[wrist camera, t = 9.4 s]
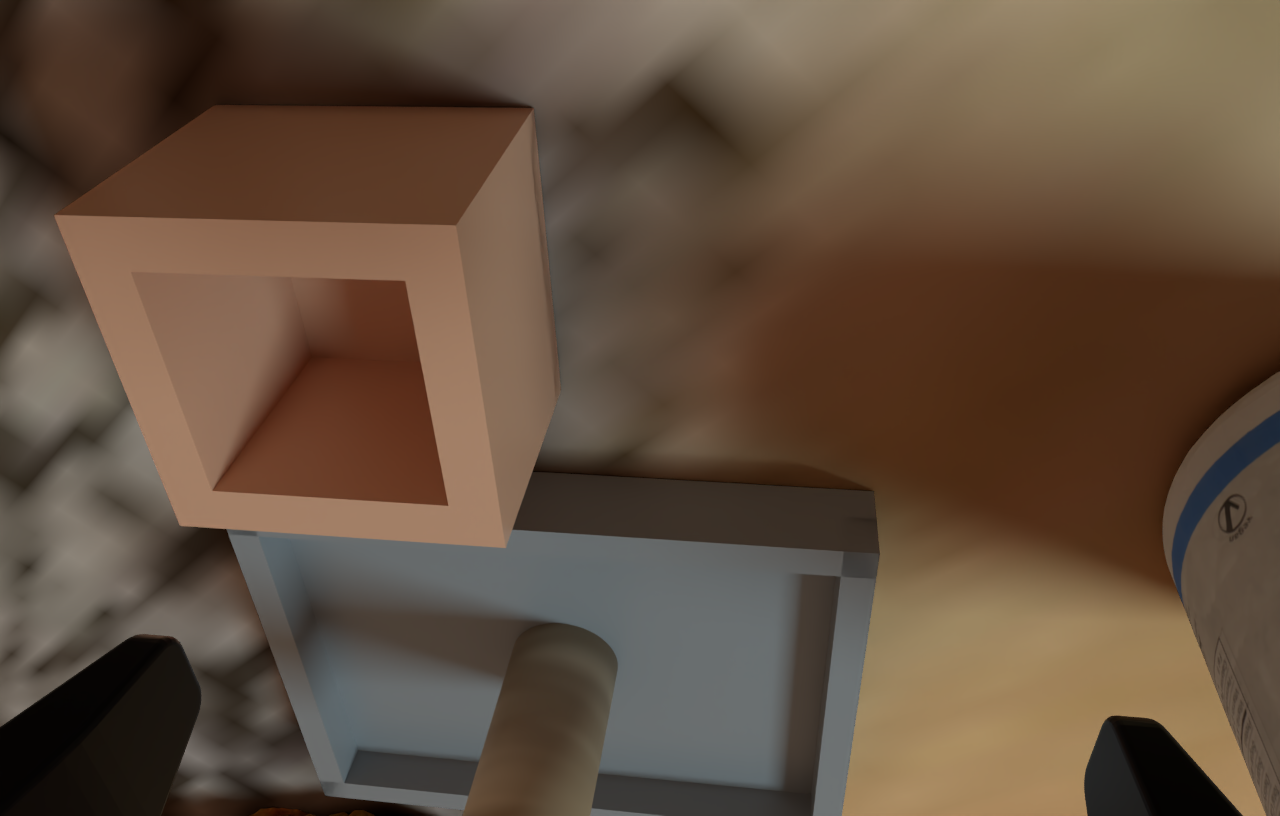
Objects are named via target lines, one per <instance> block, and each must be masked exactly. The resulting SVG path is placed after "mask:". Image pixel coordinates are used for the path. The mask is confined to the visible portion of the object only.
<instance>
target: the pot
mask: <svg viewBox="0 0 1280 816" xmlns="http://www.w3.org/2000/svg"><path fill="white" fill-rule="evenodd" d="M54 217H55V219H56V222H57V224H58V227H59V229H60V232H61V234H62V237H63V239H64V241H65V244H66V246H67V249H68V251H69V254H70V256H71V259H72V261H73V264H74V266H75V269H76V271H77V273H78V276H79V278H80V281H81V283H82V286H83V288H84V291H85V293H86V296H87V298H88V301H89V303H90V305H91V308H92V310H93V313H94V315H95V318H96V320H97V323H98V325H99V328H100V330H101V333H102V335H103V337H104V340H105V342H106V345H107V347H108V350H109V352H110V355H111V357H112V360H113V362H114V365H115V367H116V369H117V372H118V374H119V377H120V379H121V382H122V384H123V387H124V389H125V392H126V394H127V396H128V399H129V401H130V404H131V406H132V409H133V411H134V414H135V416H136V419H137V421H138V424H139V426H140V428H141V431H142V433H143V436H144V438H145V441H146V443H147V446H148V448H149V451H150V453H151V456H152V458H153V460H154V463H155V465H156V468H157V470H158V473H159V475H160V478H161V480H162V483H163V485H164V488H165V490H166V492H167V495H168V497H169V500H170V502H171V505H172V507H173V510H174V512H175V515H176V517H177V519H178V522H179V524H180V526H190V527H205V528H219V529H234V530H249V531H263V532H278V533H293V534H307V535H322V536H337V537H351V538H366V539H381V540H395V541H410V542H425V543H439V544H454V545H469V546H483V547H498V548H506V546H507V543H508V540H509V537H510V534H511V532H512V529H513V526H514V523H515V520H516V517H517V514H518V511H519V509H520V506H521V503H522V500H523V497H524V494H525V491H526V489H527V486H528V483H529V480H530V477H531V474H532V471H533V469H534V466H535V463H536V460H537V457H538V454H539V451H540V448H541V446H542V443H543V440H544V437H545V434H546V431H547V428H548V426H549V423H550V420H551V417H552V414H553V411H554V408H555V406H556V403H557V400H558V397H559V394H560V391H561V383H560V373H559V362H558V352H557V342H556V331H555V321H554V311H553V301H552V290H551V280H550V270H549V259H548V249H547V239H546V229H545V218H544V208H543V198H542V187H541V177H540V167H539V156H538V146H537V136H536V126H535V115H534V108H495V107H393V106H292V105H214V106H212V107H211V108H210V109H208V110H207V111H205V112H204V113H202V114H201V115H199V116H198V117H196V118H195V119H193V120H192V121H191V122H189V123H188V124H186V125H185V126H183V127H182V128H180V129H179V130H177V131H176V132H174V133H173V134H172V135H170V136H169V137H167V138H166V139H164V140H163V141H161V142H160V143H158V144H157V145H155V146H154V147H153V148H151V149H150V150H148V151H147V152H145V153H144V154H142V155H141V156H139V157H138V158H136V159H135V160H134V161H132V162H131V163H129V164H128V165H126V166H125V167H123V168H122V169H120V170H119V171H117V172H116V173H115V174H113V175H112V176H110V177H109V178H107V179H106V180H104V181H103V182H101V183H100V184H98V185H97V186H96V187H94V188H93V189H91V190H90V191H88V192H87V193H85V194H84V195H82V196H81V197H80V198H78V199H77V200H75V201H74V202H72V203H71V204H69V205H68V206H66V207H65V208H63V209H62V210H61V211H59V212H58V213H56V214H55V215H54Z"/></svg>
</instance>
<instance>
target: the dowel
mask: <svg viewBox="0 0 1280 816" xmlns="http://www.w3.org/2000/svg"><path fill="white" fill-rule="evenodd" d="M617 671H618V662H617V658H616V655H615V653H614V651H613V650H612V648H611V647H610V646H609V645H608V644H607V643H606V642H605V641H604V640H603V639H602V638H600V637H599V636H597V635H596V634H594V633H592V632H590V631H588V630H586V629H584V628H581V627H578V626H574V625H569V624H562V623H549V624H542V625H538V626H535V627H532V628H530V629H528V630H526V631H525V632H524V633H522V634H521V635H520V636H519V637H518V639H517V640H516V642H515V645H514V648H513V651H512V654H511V658H510V661H509V664H508V668H507V671H506V674H505V678H504V681H503V684H502V687H501V691H500V694H499V697H498V701H497V704H496V707H495V711H494V714H493V717H492V720H491V724H490V727H489V730H488V734H487V737H486V740H485V743H484V747H483V750H482V753H481V757H480V760H479V763H478V767H477V770H476V773H475V776H474V780H473V783H472V786H471V790H470V793H469V796H468V799H467V803H466V806H465V809H464V813H463V816H590V814H591V808H592V803H593V798H594V792H595V787H596V782H597V777H598V771H599V766H600V761H601V755H602V750H603V745H604V739H605V734H606V729H607V724H608V718H609V713H610V708H611V702H612V697H613V692H614V687H615V681H616V676H617Z"/></svg>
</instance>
